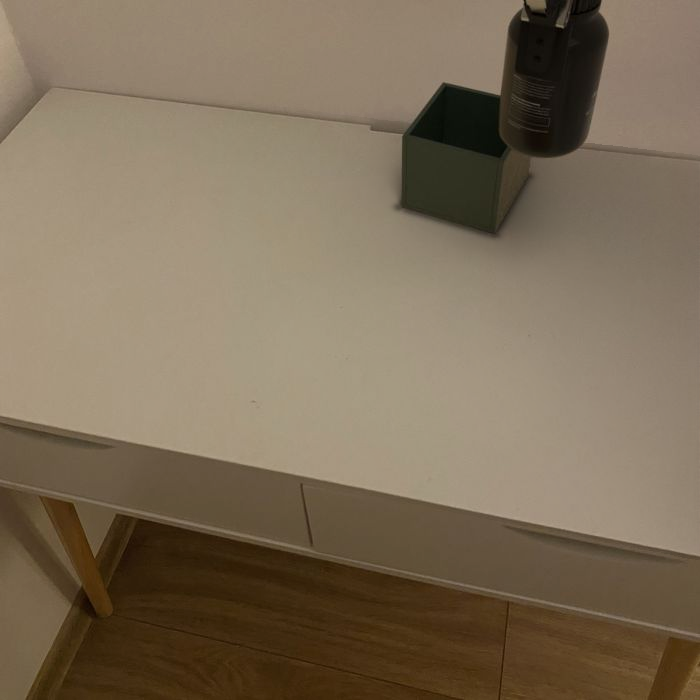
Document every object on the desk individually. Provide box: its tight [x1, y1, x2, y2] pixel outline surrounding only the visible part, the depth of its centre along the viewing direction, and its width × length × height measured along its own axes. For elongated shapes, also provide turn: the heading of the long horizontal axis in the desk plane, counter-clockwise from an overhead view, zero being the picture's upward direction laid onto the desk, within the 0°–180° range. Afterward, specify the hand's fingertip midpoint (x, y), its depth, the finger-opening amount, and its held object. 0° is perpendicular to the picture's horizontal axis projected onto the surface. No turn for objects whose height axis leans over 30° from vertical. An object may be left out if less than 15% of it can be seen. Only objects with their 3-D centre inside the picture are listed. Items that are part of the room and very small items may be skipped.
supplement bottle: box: [497, 0, 610, 159], centre depth 58 cm, size 7×7×12 cm
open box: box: [400, 81, 532, 235], centre depth 81 cm, size 10×10×8 cm
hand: (555, 46), depth 57 cm, fingers closed on supplement bottle, 6 cm apart
